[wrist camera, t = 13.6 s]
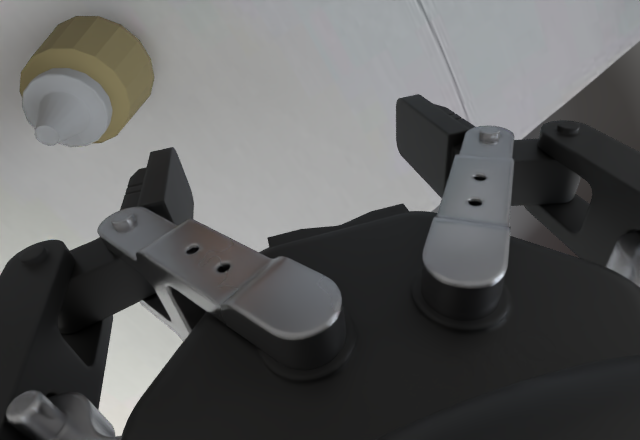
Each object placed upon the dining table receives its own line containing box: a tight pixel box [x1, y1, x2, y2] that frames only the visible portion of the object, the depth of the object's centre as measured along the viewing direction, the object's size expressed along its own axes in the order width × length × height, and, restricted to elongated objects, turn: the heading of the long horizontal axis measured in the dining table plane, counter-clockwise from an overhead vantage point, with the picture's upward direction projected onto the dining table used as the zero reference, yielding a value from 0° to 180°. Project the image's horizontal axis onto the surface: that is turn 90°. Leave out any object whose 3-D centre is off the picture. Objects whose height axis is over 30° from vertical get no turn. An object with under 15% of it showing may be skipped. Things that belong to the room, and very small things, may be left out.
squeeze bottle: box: [20, 16, 154, 147], centre depth 28 cm, size 8×8×18 cm
